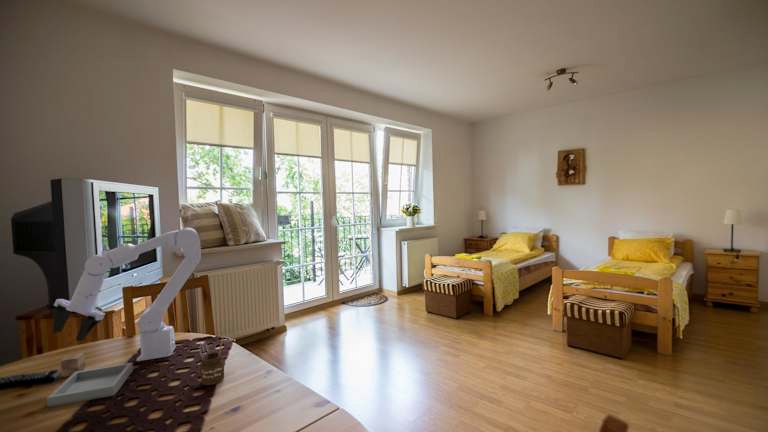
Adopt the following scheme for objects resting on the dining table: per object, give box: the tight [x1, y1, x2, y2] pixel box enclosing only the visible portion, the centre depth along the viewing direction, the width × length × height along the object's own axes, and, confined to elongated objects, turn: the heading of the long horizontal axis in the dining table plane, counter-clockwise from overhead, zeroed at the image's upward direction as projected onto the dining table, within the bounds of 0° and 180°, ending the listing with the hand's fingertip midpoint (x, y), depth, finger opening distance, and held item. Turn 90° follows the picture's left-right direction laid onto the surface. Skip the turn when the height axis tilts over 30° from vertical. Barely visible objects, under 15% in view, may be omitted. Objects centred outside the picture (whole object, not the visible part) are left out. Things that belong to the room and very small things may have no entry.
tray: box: [46, 362, 134, 408], centre depth 95 cm, size 14×14×2 cm
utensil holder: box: [199, 335, 225, 386], centre depth 96 cm, size 6×6×12 cm
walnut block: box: [60, 352, 86, 378], centre depth 104 cm, size 4×4×5 cm
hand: (68, 336), depth 104 cm, fingers open, 7 cm apart
